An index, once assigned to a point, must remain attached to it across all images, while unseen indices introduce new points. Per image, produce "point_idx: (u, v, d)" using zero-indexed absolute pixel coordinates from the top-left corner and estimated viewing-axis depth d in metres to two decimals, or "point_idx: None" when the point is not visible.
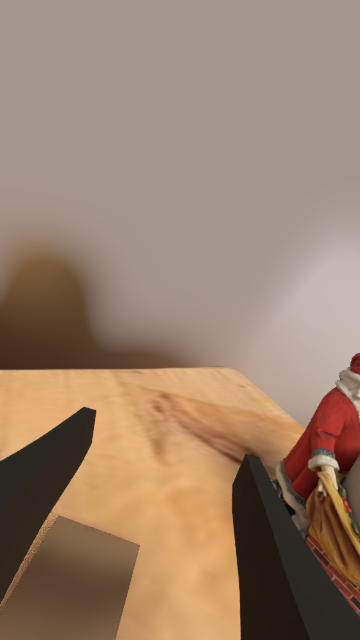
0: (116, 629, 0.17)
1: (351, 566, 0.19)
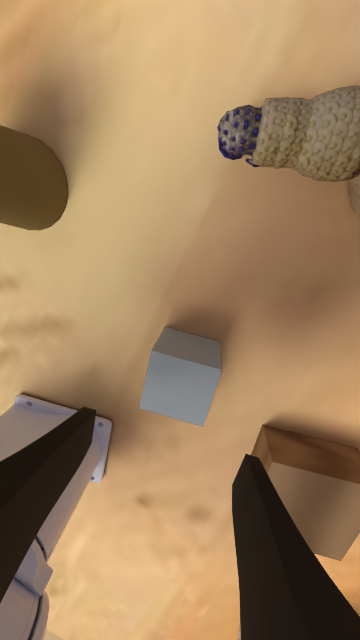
0: None
1: None
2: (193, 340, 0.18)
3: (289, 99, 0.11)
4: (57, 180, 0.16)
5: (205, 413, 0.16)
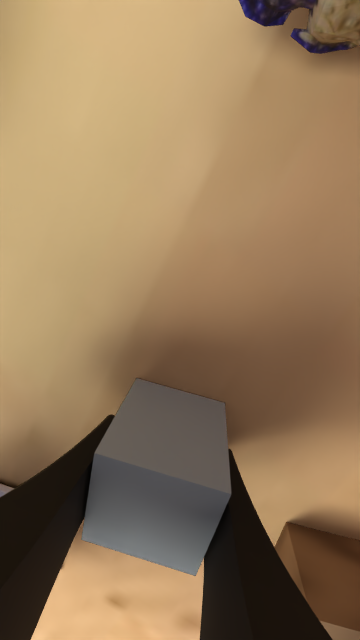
0: None
1: None
2: (180, 408, 0.11)
3: None
4: None
5: (199, 557, 0.09)
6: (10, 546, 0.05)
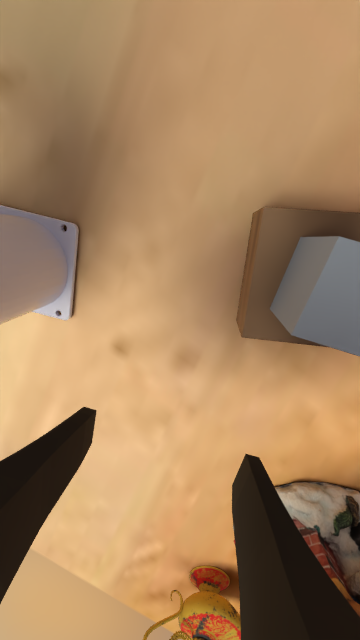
0: (285, 340, 0.16)
1: None
2: None
3: None
4: None
5: None
6: None
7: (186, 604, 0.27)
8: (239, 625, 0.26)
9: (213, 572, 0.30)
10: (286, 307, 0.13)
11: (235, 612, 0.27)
